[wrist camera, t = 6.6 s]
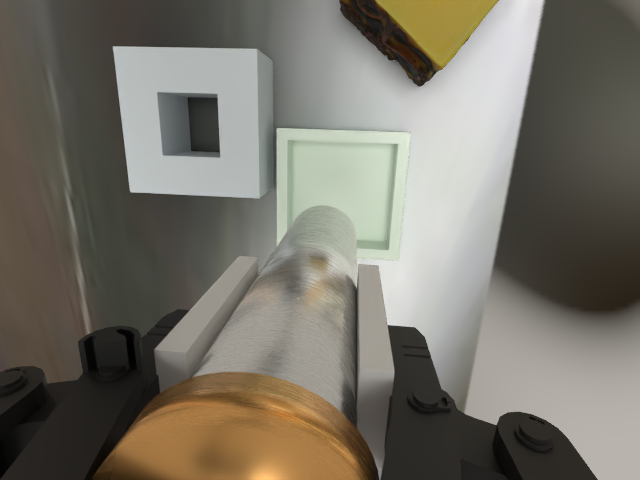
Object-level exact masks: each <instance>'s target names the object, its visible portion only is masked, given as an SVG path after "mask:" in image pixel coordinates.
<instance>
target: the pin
mask: <svg viewBox="0 0 640 480" xmlns="http://www.w3.org/2000/svg"><path fill="white" fill-rule="evenodd" d="M92 480H379V477H378V470H377V467H376V463H375V460H374V457H373V455H372V453H371V451H370V449H369V447H368V444H367V442H366V441H365V439H364V438H363V437H362V435H361V434H360V432H359V431H358V429H357V234H356V229H355V227H354V224H353V222H352V221H351V219H350V218H349V217H348V216H347V215H346V214H345V213H344V212H342V211H341V210H339V209H337V208H335V207H331V206H326V205H319V206H314V207H310V208H308V209H306V210H304V211H303V212H302V213H300V214H299V215H298V216H297V218H296V219H295V220H294V222H293V223H292V225H291V226H290V228H289V229H288V231H287V232H286V234H285V235H284V237H283V238H282V240H281V241H280V243H279V244H278V246H277V247H276V249H275V250H274V252H273V253H272V255H271V256H270V258H269V259H268V261H267V263H266V264H265V266H264V267H263V269H262V270H261V272H260V273H259V275H258V276H257V278H256V279H255V281H254V282H253V284H252V285H251V287H250V288H249V290H248V291H247V293H246V294H245V296H244V297H243V299H242V300H241V302H240V303H239V305H238V306H237V308H236V309H235V311H234V312H233V314H232V315H231V317H230V318H229V320H228V321H227V323H226V324H225V326H224V327H223V329H222V330H221V332H220V333H219V335H218V336H217V338H216V339H215V341H214V342H213V344H212V346H211V347H210V349H209V350H208V352H207V353H206V355H205V356H204V358H203V359H202V361H201V362H200V364H199V365H198V367H197V368H196V370H195V371H194V373H193V374H192V376H191V377H190V379H187V380H184V381H181V382H179V383H177V384H175V385H173V386H171V387H169V388H167V389H166V390H164V391H163V392H161V393H160V394H159V395H157V396H156V397H154V398H153V399H152V400H151V401H150V402H149V403H148V404H147V405H146V406H145V408H144V409H143V410H142V411H141V413H140V414H139V415H138V417H137V418H136V419H135V421H134V422H133V423H132V425H131V426H130V427H129V429H128V430H127V431H126V433H125V434H124V435H123V437H122V438H121V439H120V441H119V442H118V443H117V445H116V446H115V447H114V449H113V450H112V451H111V453H110V454H109V455H108V457H107V458H106V459H105V461H104V462H103V463H102V464H101V466H100V467H99V469H98V470H97V472H96V473H95V474H94V476H93V477H92Z"/></svg>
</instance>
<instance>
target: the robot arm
mask: <svg viewBox="0 0 640 480" xmlns="http://www.w3.org/2000/svg"><path fill="white" fill-rule="evenodd" d="M257 276H258V257H247V256H239V257H238V258H237V259H236V260H235V261H234V262H233V263H232V264H231V265H230V267H229V268H228V269H227V270H226V271H225V272H224V273H223V274H222V275H221V277H220V278H219V279H218V280H217V281H216V282H215V283H214V284H213V285H212V286H211V288H210V289H209V290H208V291H207V292H206V293H205V294H204V295H203V296H202V297H201V299H200V300H199V301H198V302H197V303H196V304H195V305H194V306H193V307H192V309H191V310H180V309H177V310H176V311H174V312H172V313H170V314H168V315H166V316H164V317H163V318H162V319H161V320H160V321H159V322H158V323H157V324H156V325H155V327H153V328H152V329H151V330H150V331H149V332H148V333H147V335H145V336H144V337H143V338H142V339H141V334H140V333H139V331H138V330H137V329H134V328H132V327H125V326H117V327H108V328H104V329H101V330H97V331H95V332H93V333H90V334H88V335H86V336H85V337H83V338H82V339H81V340H79V341H78V345H79V351H80V357H81V363H82V369H83V374H82V375H81V376H80V378H79V379H78V380H74V381H66V382H57V383H49V384H47V382H46V377H45V373H44V372H43V370H42V369H40V368H37V367H34V366H22V367H15V368H10V369H6V370H4V371H2V372H0V480H92V477H93V476H94V474H95V473H96V472H97V470H98V469H99V467H100V466H101V464H102V463H103V462H104V461H105V459H106V458H107V457H108V455H109V454H110V453H111V451H112V450H113V449H114V447H115V446H116V445H117V443H118V442H119V441H120V439H121V438H122V437H123V435H124V434H125V433H126V431H127V430H128V429H129V427H130V426H131V425H132V423H133V422H134V421H135V419H136V418H137V417H138V415H139V414H140V413H141V411H142V410H143V409H144V408H145V406H146V405H147V404H148V403H149V402H150V401H151V400H152V399H153V398H154V397H156V396H157V395H159V394H160V393H161V392H163V391H164V390H166V389H167V388H169V387H171V386H173V385H175V384H177V383H179V382H181V381H184V380H187V379H190V377H191V376H192V374H193V373H194V371H195V370H196V368H197V367H198V365H199V364H200V362H201V361H202V359H203V358H204V356H205V355H206V353H207V352H208V350H209V349H210V347H211V346H212V344H213V342H214V341H215V339H216V338H217V336H218V335H219V333H220V332H221V330H222V329H223V327H224V326H225V324H226V323H227V321H228V320H229V318H230V317H231V315H232V314H233V312H234V311H235V309H236V308H237V306H238V305H239V303H240V302H241V300H242V299H243V297H244V296H245V294H246V293H247V291H248V290H249V288H250V287H251V285H252V284H253V282H254V281H255V279H256V278H257ZM357 429H358V431H359V432H360V434H361V435H362V437H363V438H364V439H365V441H366V442H367V444H368V447H369V449H370V451H371V453H372V455H373V457H374V460H375V463H376V467H377V468H382V476H381V480H598V479H597V478H596V477H595V475H594V474H593V473H592V471H591V470H590V468H589V467H588V466H587V464H586V463H585V461H584V460H583V459H582V457H581V456H580V455H579V453H578V452H577V450H576V449H575V448H574V446H573V445H572V444H571V442H570V441H569V439H568V438H567V437H566V436H565V435H564V434H563V433H562V432H561V431H560V430H559V429H558V428H557V427H555V426H554V425H552V424H551V423H549V422H547V421H546V420H544V419H542V418H539V417H537V416H534V415H532V414H527V413H522V412H510V413H506V414H504V415H502V416H501V417H500V418H499V421H498V423H497V425H494V424H490V423H488V422H485V421H482V420H478V419H476V418H473V417H471V416H468V415H466V414H464V413H462V412H461V411H459V410H457V408H456V405H455V402H454V400H453V399H452V398H451V397H450V395H449V394H448V393H447V392H445V391H443V390H442V389H441V386H440V383H439V380H438V377H437V374H436V371H435V368H434V365H433V361H432V358H431V355H430V352H429V350H428V346H427V343H426V340H425V337H424V336H423V335H422V334H421V333H420V332H419V331H418V330H417V329H416V328H414V327H402V326H390V325H387V319H386V312H385V306H384V299H383V293H382V286H381V280H380V273H379V267H378V266H376V265H362V264H359V266H358V279H357Z"/></svg>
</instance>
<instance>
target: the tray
mask: <svg viewBox="0 0 640 480" xmlns="http://www.w3.org/2000/svg"><path fill="white" fill-rule="evenodd" d="M410 138H411V133H410V132H392V131H362V130H333V129H303V128H277V246H278V244H279V243H280V241H281V240H282V238H283V237H284V235H285V234H286V232H287V231H288V229H289V228H290V226H291V225H292V223H293V222H294V220H295V219H296V218H297V216H298V215H299V214H300V213H302V212H303V211H304V210H306V209H308V208H310V207H314V206H319V205H326V206H331V207H335V208H337V209H339V210H341V211H342V212H344V213H345V214H346V215H347V216H348V217H349V218H350V219H351V221H352V222H353V224H354V227H355V229H356V234H357V258H363V259H380V260H396V261H398V259H399V249H400V239H401V229H402V219H403V209H404V199H405V188H406V178H407V168H408V158H409V148H410Z"/></svg>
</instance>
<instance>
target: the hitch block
mask: <svg viewBox="0 0 640 480" xmlns="http://www.w3.org/2000/svg"><path fill="white" fill-rule="evenodd" d="M113 51H114V59H115V68H116V76H117V85H118V93H119V102H120V110H121V119H122V127H123V135H124V144H125V152H126V161H127V169H128V178H129V186H130V192H139V193H159V194H179V195H199V196H220V197H240V198H261V197H262V196H263V195H265V194H266V193H267V192H269V191H270V190H271V189H273V188H274V145H273V61H272V60H271V59H270V58H268V57H267V56H266V55H264V54H263V53H262V52H260V51H259V50H258V49H235V48H177V47H118V46H113ZM188 97H200V98H218V118H219V140H220V152H203V151H191V140H190V125H189V110H188Z"/></svg>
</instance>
